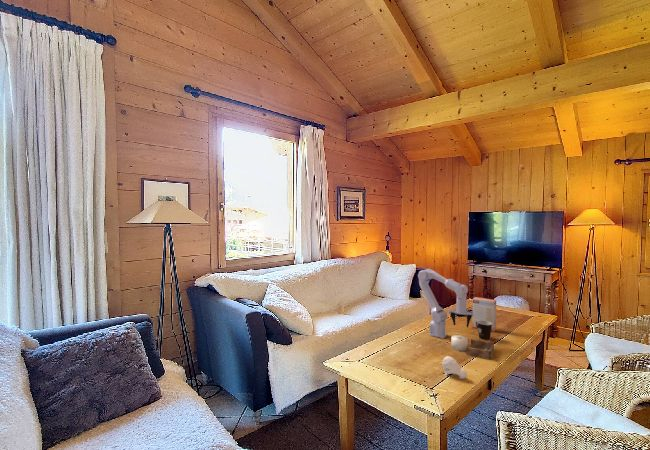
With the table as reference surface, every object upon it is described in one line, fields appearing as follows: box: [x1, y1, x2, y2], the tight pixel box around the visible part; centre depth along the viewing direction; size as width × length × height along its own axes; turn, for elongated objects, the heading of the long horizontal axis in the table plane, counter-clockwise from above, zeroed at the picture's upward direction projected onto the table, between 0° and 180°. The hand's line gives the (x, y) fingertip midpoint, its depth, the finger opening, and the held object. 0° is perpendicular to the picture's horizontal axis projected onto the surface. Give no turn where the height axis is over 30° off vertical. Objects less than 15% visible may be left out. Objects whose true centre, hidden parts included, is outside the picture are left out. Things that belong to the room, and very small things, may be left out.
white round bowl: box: [450, 334, 469, 352], centre depth 200 cm, size 9×9×6 cm
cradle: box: [465, 338, 495, 360], centre depth 193 cm, size 13×15×5 cm
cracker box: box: [471, 296, 497, 333], centre depth 231 cm, size 14×6×21 cm, turn 49°
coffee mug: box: [476, 321, 492, 341], centre depth 216 cm, size 12×9×10 cm
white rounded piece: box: [441, 355, 468, 380], centre depth 166 cm, size 6×8×12 cm
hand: (461, 325), depth 209 cm, fingers open, 7 cm apart
